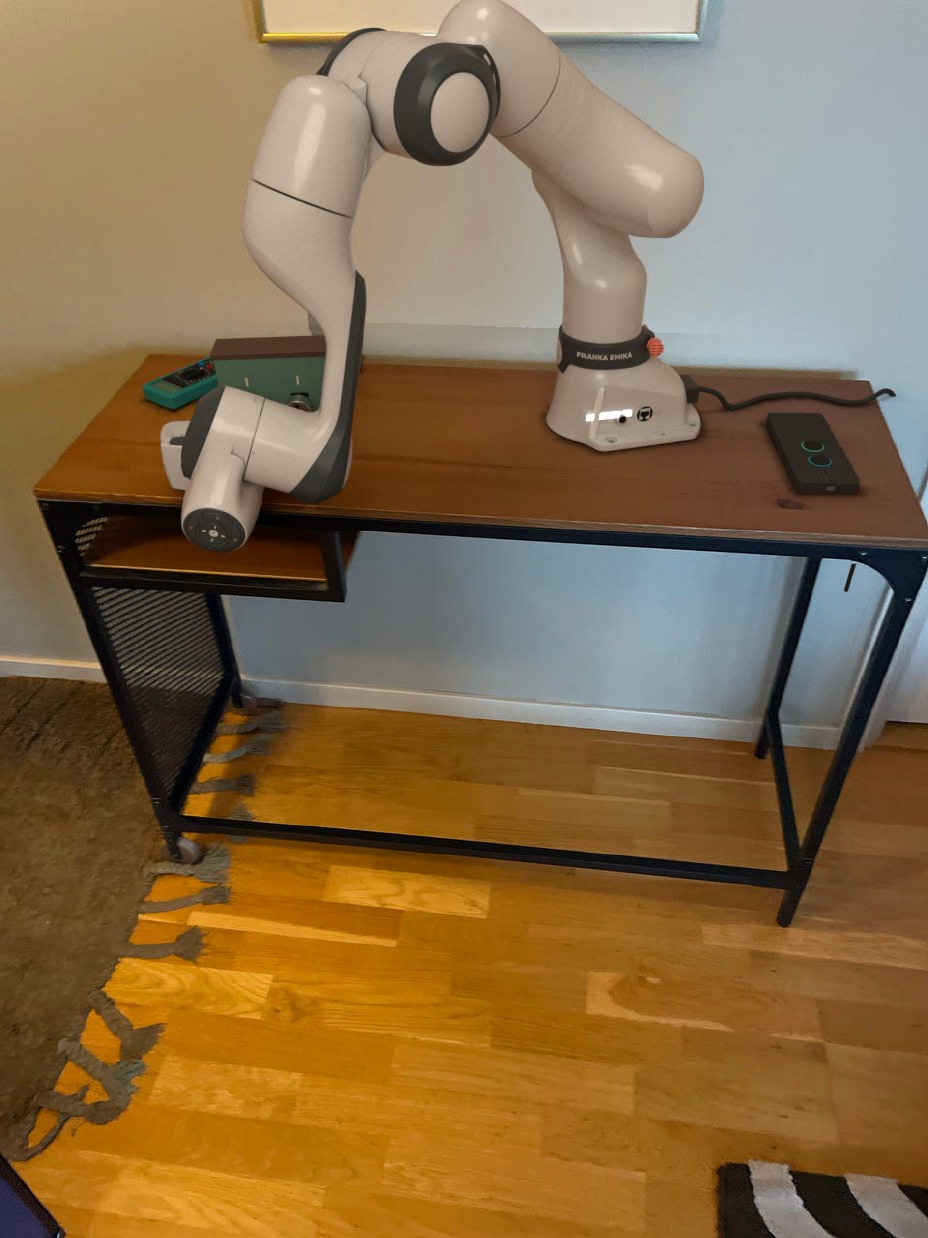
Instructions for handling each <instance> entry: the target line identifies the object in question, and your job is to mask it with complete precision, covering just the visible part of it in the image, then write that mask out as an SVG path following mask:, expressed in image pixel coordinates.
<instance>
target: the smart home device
mask: <svg viewBox="0 0 928 1238" xmlns="http://www.w3.org/2000/svg"><path fill="white" fill-rule="evenodd" d="M765 427H766V429H767V431H768V434H769V436H770V438H771V441H772V442H773V445H774V448H775V450H776V451H777V454H778V457H779V458H780V460H781V462H782V465H783V467H784V469H785V471H786V473H787V476H788V478H789V480H790V482H791V485H792V487H793V489H794V491H795V492H796V493H798V494H822V495H823V494H824V495H825V494H827V495H828V494H829V495H830V494H831V495H833V494H834V495H835V494H837V495H856V494H857V493H858V489H859V486H860V484H861V480H860V478H859V476H858V474H857V473H856V471H855V469H854V467H853V466H852V464H851V462H850V461H849V459H848V457H847V455H846V454H845V452H844V450H843V448H842V446H841V445H840V442H839V440H838V439H837V437H836V436H835V434H834V432H833V431H832V429H831V427H830V425H829V423H828V421H827V420H826V418H825V416H824V415H823V414H822V413H820V412H768V413H767V415H766V420H765Z"/></svg>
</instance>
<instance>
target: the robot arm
mask: <svg viewBox="0 0 928 1238" xmlns="http://www.w3.org/2000/svg"><path fill="white" fill-rule="evenodd" d="M267 119H268V120H267V122H266V124H265V127H264V130H263V133H262V135H261V139H260V140H259V144H258V147H257V149H256V154H255V157H254V160H253V164H252V168H251V172H250V174H249V179H248V184H247V187H246V193H245V196H244V197H245V198H244V204H243V211H242V220H241V233H242V238H243V242H244V245H245V247H246V249H247V252H248V253H249V256H250V257H251V259H252V261H253V262H254V263H255V265H256V266H257V268H258V269H259V270H260V271H261V272H262V274H264V275H265V277H266V278H267V279H268V281H270V282H271V283H272V284H274V286H276V287H277V288H278V289H279V290H280V291H282V293H284V294H285V295H286V296H288V297H289V298H290V299H292V301H294V302H295V303H296V304H298V305H299V306H300V307H301V308H302V309H303V310H304V311H305V312H307V314H308V313H309V314H310V315H311V316H312V317H313V319H314V320H315V321H316V322H317V323H318V325H319V326H320V328H321V330H322V332H323V334H324V337H325V341H326V355H325V364H324V373H323V382H322V391H321V400H320V407H319V409H318V410H317V411H315V412H307V411H303V410H300V409H297V408H294V407H291V406H287V405H284V404H281V403H278V402H275V401H272V400H269V399H266V398H265V397H262V396H259V395H256V394H252V393H249V392H246V391H243V390H240V389H236V388H233V387H229V386H225V385H223V386H220V387H217V388H215V389H213V390H211V391H210V392H208V393H207V394H205V395H204V396H202V397H201V398H199V399H198V400H197V403H196V405H195V408H194V410H193V414H192V416H191V419H190V420H173V421H170V422H167V423H165V424H164V425H163V426H162V428H161V431H160V435H159V440H160V451H161V459H162V464H163V467H164V470H165V471H164V472H165V474H166V477H167V480H168V482H169V484H170V487H171V488H173V489H175V490H180V491H181V490H182V491H184V495H183V499H182V504H181V513H180V525H181V530H182V532H183V534H184V536H185V537H186V538H187V539H188V540H189V541H190V542H191V543H192V544H193V545H195V546H196V547H198V548H201V549H203V550H207V551H209V552H215V553H219V554H220V553H222V554H224V553H231V552H235V551H237V550H239V549H240V548H242V547H243V546H244V545H245V544H246V543H247V542H248V540H249V538H250V536H251V534H252V532H253V530H254V528H255V526H256V523H257V520H258V518H259V515H260V512H261V509H262V508H261V507H262V503H263V493H264V491H265V488H269V489H271V490H275V491H277V492H282V493H285V495H288V496H290V497H292V498H295V499H298V500H300V501H302V502H305V503H308V504H310V505H315V504H319V503H323V502H325V501H327V500H329V499H331V498H334V497H335V496H337V495H339V494H340V493H341V492H342V491H343V488H344V487H345V485H346V483H347V481H348V479H349V476H350V473H351V469H352V464H353V452H354V451H353V423H354V416H355V415H354V414H355V410H356V403H357V402H356V401H357V394H358V387H359V386H358V385H359V379H360V373H361V372H360V370H361V365H362V358H361V357H363V350H362V348H363V349H364V339H365V326H366V316H367V302H368V301H367V300H368V299H367V297H368V295H367V285H366V279H365V278H364V277H363V275H362V274H361V273H360V272H359V271H358V269H356V267H355V266H356V265H355V263H354V258H353V251H352V234H353V228H354V224H355V219H356V216H357V212H358V209H359V207H360V202H361V197H362V193H363V188H364V184H365V182H366V179H367V177H368V175H369V173H370V171H371V170H372V168H373V167H374V165H375V164H376V163H377V161H378V160H379V159H380V158H382V156H384V155H385V154H386V153H388V154H391V155H393V156H394V155H395V156H399V157H401V158H405V159H408V160H414V161H417V162H418V163H420V164H423V165H426V166H430V167H450V166H451V167H452V166H456V165H459V164H462V163H464V162H466V161H467V160H469V159H470V158H471V157H473V156H474V154H476V152H478V150H479V149H480V148H481V147H482V145H483V144H484V142H485V141H486V140H487V138H488V135H490V136H491V137H493V138H494V139H495V140H496V141H497V142H499V144H501V145H502V146H503V147H504V148H505V149H507V150H508V151H509V152H510V153H511V154H512V155H513V156H515V158H517V159H518V160H519V161H520V162H521V163H523V164H524V165H525V166H526V167H527V168H528V169H530V171H531V172H530V174H531V180H532V184H533V187H534V189H535V191H536V193H537V194H538V195H539V197H540V198H541V200H542V201H543V203H544V205H545V207H546V209H547V211H548V213H549V216H550V218H551V221H552V225H553V228H554V232H555V235H556V239H557V243H558V248H559V253H560V257H561V264H562V275H563V277H562V278H563V288H562V291H563V292H562V322H561V324H560V325H559V327H558V335H557V338H556V339H557V340H556V357H555V358H556V359H555V361H556V366H557V375H556V379H555V385H554V390H553V394H552V398H551V401H550V404H549V408H548V411H547V413H546V416H545V422H546V424H547V426H548V427H549V429H550V430H551V431H552V432H554V433H555V434H557V435H559V436H560V437H563V438H565V439H568V440H570V441H575V442H578V443H582V444H585V445H587V446H588V447H590V448H592V449H594V450H596V451H599V452H611V451H613V452H614V451H620V450H626V449H633V448H640V447H648V446H655V445H663V444H670V443H676V442H684V441H691V440H695V439H696V438H697V437H698V436H699V435H700V432H701V419H700V415H699V413H698V411H697V409H696V407H694V405H693V404H698V403H699V396H700V393H706V394H710V395H713V396H714V397H716V398H717V399H718V400H719V401H720V403H721V405H722V406H723V407H724V408H725V409H728V410H731V411H735V410H740V409H743V408H747V407H749V406H751V405H753V404H755V403H758V402H761V401H767V400H772V399H780V398H781V399H782V398H794V397H795V398H798V397H799V398H811V399H816V400H817V399H818V400H822V401H825V402H829V403H833V404H838V405H844V406H862V405H866V404H868V403H870V402H872V401H874V400H875V399H877V398H879V397H881V396H882V395H885V394H887V395H888V396H889V397H891V398H894V397H897V395H896V392H895V391H894V390H893V389H891V388H887V387H885V388H881V389H879V390H878V391H876V392H875V393H873V394H871V395H869V396H868V397H865V398H862V399H853V400H852V399H845V398H840V397H835V396H831V395H826V394H823V393H818V392H812V391H782V392H781V391H780V392H773V393H766V394H760V395H757V396H755V397H752V398H750V399H747V400H746V401H744V402H741V403H738V404H732V403H729V402H728V401H727V399H726V398H725V395H723V393H722V392H720V391H718V390H716V389H714V388H712V387H711V388H710V387H706V386H702V385H701V386H700V385H698V384H697V383H696V381H695V380H694V379H693V378H692V377H691V376H690V375H689V374H686V373H685V374H679V373H678V372H677V371H676V370H675V369H674V368H673V367H672V366H670V365H669V364H668V363H666V362H665V361H664V360H662V359H661V358H660V356H661V355H662V354H663V353H664V350H665V348H664V347H665V346H664V344H663V343H662V341H661V339H659V338H658V337H656V335H655V333H654V331H652V330H651V329H649V327H648V326H647V324H646V323H643V322H644V312H645V303H646V294H647V285H648V275H647V270H646V267H645V265H644V263H643V261H642V260H641V258H640V257H639V255H638V254H637V252H636V250H635V249H634V246H633V244H632V242H631V238H630V237H631V236H632V237H635V238H645V239H671V238H673V237H676V236H678V235H679V234H681V233H682V232H683V231H685V229H687V227H688V226H689V225H690V224H691V223H692V221H693V220H694V218H696V216H697V214H698V213H699V210H700V208H701V205H702V202H703V197H704V192H705V175H704V171H703V167H702V164H701V162H700V161H699V159H698V158H697V157H696V156H695V155H694V154H692V153H690V152H689V151H687V150H685V149H684V148H682V147H680V146H679V145H677V144H676V143H673V141H670V139H668V138H666V137H665V136H663V135H662V134H661V133H659V132H657V130H655V129H654V128H653V127H652V126H650V125H649V124H647V122H645V121H644V120H643V119H641V118H640V117H638V116H637V115H636V114H634V112H632V111H631V110H629V109H628V108H627V107H625V106H624V105H622V104H621V103H619V101H617V100H615V99H614V98H612V97H610V96H609V95H607V94H606V93H605V92H603V90H601V89H599V87H597V86H596V85H595V84H594V83H592V81H591V80H590V79H588V77H587V76H586V75H585V74H584V73H583V72H582V71H581V70H580V69H579V68H578V67H577V66H576V64H574V63H573V61H572V60H570V58H568V57H567V55H566V54H565V53H564V52H563V51H562V50H561V49H560V48H559V47H558V45H557V44H556V43H554V41H552V39H551V38H550V37H549V36H547V34H545V32H544V31H543V30H541V28H539V27H538V26H537V25H536V24H535V23H534V22H532V21H531V20H530V19H529V18H528V17H526V15H524V14H522V13H521V12H520V11H518V10H517V9H516V8H515V7H513V6H511V5H510V4H508V3H506V2H505V1H503V0H460V1H459V2H457V3H456V4H455V5H454V6H452V8H450V10H449V11H448V13H447V14H446V15H445V17H444V19H443V20H442V22H441V24H440V26H439V28H438V31H437V33H436V35H434V36H428V35H424V34H420V33H417V32H416V33H415V32H411V31H400V30H399V31H397V30H387V29H385V28H381V27H365V28H360V29H357V30H354V31H351V32H349V33H348V34H346V35H345V36H343V37H342V38H341V39H339V40H338V41H337V42H336V44H335V45H334V46H333V47H332V49H331V50H330V51H329V53H328V55H327V56H326V59H325V60H324V63H323V64H322V66H321V67H320V68H319V69H318V70H317V71H316V72H315V74H304V75H299V76H296V77H293V78H292V79H290V80H289V81H288V82H287V83H285V85H284V86H283V87H282V89H281V90H280V92H279V94H278V96H277V99H276V101H275V103H274V105H273V107H272V110H271V112H270V114H269V117H268V118H267ZM264 398H265V401H264ZM263 402H264V405H263ZM262 406H263V408H262ZM261 409H262V412H261ZM260 413H261V416H260ZM856 566H857V563H856V562H855V563H851V565H850V568H849V571H848V573H847V578H846V581H845V584H844V588H843V592H845V593H849V590H850V586H851V583H852V579H853V576H854V573H855V571H856Z"/></svg>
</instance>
